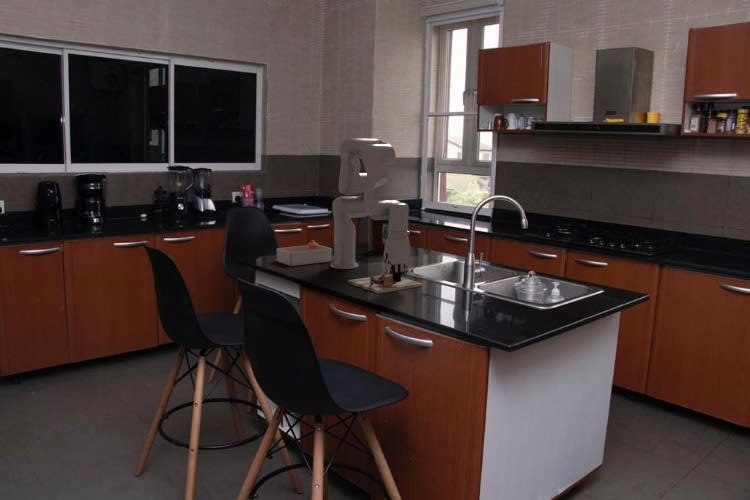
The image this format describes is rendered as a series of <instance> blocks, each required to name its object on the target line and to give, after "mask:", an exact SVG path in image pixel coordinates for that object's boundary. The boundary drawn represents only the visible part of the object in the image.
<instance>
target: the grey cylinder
mask: <svg viewBox="0 0 750 500" xmlns="http://www.w3.org/2000/svg"><path fill="white" fill-rule="evenodd" d="M385 265H386V263H384V261H382V262H381V275H380V276H381V280H384V275H389V274H390V268H387V267H385ZM369 276H370V285H374V277H375V276H374V275H372V274H370V275H369Z"/></svg>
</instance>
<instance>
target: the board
mask: <svg viewBox="0 0 750 500" xmlns="http://www.w3.org/2000/svg"><path fill="white" fill-rule="evenodd" d="M389 275H392V276H393V273H392V274H391V273H389ZM378 276H379V277H380V276H381V275H376V276H374V277H378ZM347 283H348V284H350V285H352V286H356V287H359V288H361V289H364V290H368V291H369V292H372V293H375V294H383V293H390V292H395V291H402V290H408V289H413V288H420V287H421V288H422V287H423V283H422V282H418V281H416V280H412V279H408V278H406V277H402V276H401V282H396V283H393V287H385V286H384V285H383V283H382V284H380V283H375V282H374V285H370V277H362V278H355V279H350V280H347Z"/></svg>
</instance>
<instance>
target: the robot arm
mask: <svg viewBox="0 0 750 500" xmlns="http://www.w3.org/2000/svg"><path fill="white" fill-rule="evenodd" d="M396 156H397V155H396V151H395V149H394V147H393V146H392V145H391V144H390V143H388V142H387V141H384V140H382V139H380V138H369V137H368V138H367V137H365V138H364V137H351V138H344V140H342V142H341V143H340V146H339V157H340V169H339V176H338V177H339V178H338V191H339V193H340V194H341V195H346V196H338V197H336V198H335V199H333V201H332V206H331V207H332V208H331V209H332V215H333V225H334V226H333V234H334V236H333V240H334V241H333V255H332V257H331V259H332V262H331V263H330V267H331V268H333V269H339V270H352V269H357V268H358V267H359V263H358V262H356V236H357V235H356V232H357V231H356V230H357V229H356V225H355V224H354V222H353V220H352V219H354V218H366V217H369V218H370V219H371V220H372V219H373V220H389V229H388V238H387V239H386V242H385V248H384V252H383V262H384V263H386V265H385V267H387V268H389V270H390V271H391V272H392V275H393V281H395V282H401V277H402V273H403V272H402V271H403V268H404V267H405V266H408V267H409V265H410V261H411V245H410V239H409V235H410V234H411V233H410V231H409V211H410V207H409V204H408V203H405V202H401V201H399V200H396V199H393V200H384V199H382V200H376V198H375V194H374V192H375V191H374V189H377V188H379V187H380V186H383V185H384V184H385V183H386V182H388V181H389V179H390V174H389V172H388V167H387V166H388V165H389V166H391V165H392V164H394V163H395V161H396ZM360 159H361V160H362V163H363V166H364V167H363V168H364V170H365V172H361V162H360ZM356 195H357V196H356Z"/></svg>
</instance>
